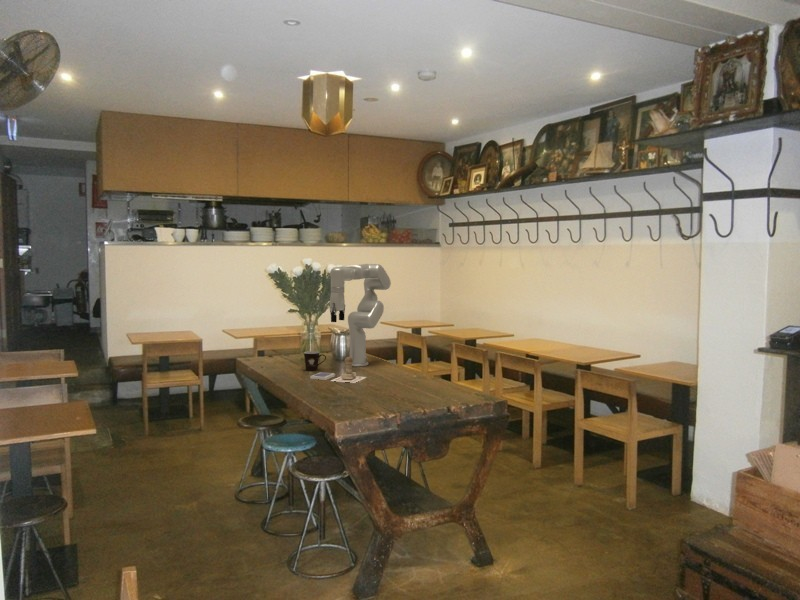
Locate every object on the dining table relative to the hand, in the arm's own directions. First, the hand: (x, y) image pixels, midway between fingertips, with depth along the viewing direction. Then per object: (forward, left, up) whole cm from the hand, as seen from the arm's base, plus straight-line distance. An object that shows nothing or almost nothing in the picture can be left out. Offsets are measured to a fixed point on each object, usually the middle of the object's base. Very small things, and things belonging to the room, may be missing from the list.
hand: (337, 321), depth 345 cm
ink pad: (+18, 0, -28) cm, 34 cm away
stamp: (+18, +15, -28) cm, 36 cm away
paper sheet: (+18, +15, -28) cm, 36 cm away
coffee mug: (+2, -14, -28) cm, 32 cm away
